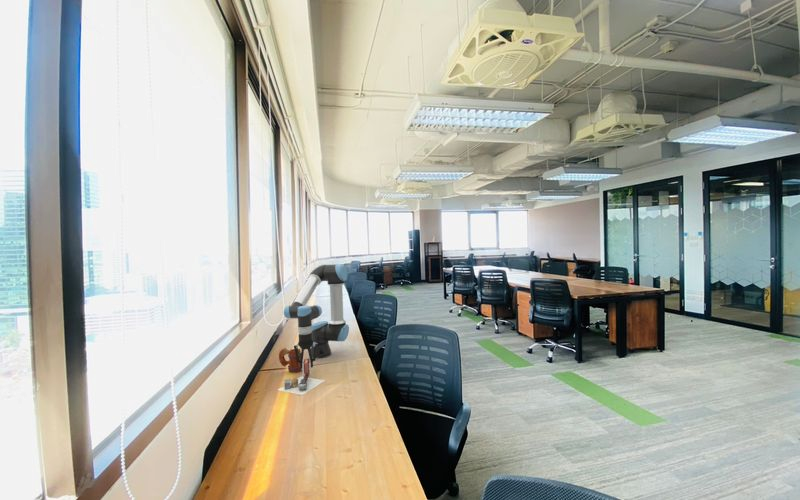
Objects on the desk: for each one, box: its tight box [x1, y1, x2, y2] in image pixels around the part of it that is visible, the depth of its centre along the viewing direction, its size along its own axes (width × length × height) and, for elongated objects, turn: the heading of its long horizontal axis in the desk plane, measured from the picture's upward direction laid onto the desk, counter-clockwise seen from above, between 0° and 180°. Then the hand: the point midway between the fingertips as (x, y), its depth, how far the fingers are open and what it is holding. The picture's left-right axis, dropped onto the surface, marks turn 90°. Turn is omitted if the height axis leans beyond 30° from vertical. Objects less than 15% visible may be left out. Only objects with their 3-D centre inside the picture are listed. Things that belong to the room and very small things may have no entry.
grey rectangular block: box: [283, 378, 292, 390], centre depth 176 cm, size 5×3×4 cm, turn 17°
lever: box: [299, 358, 311, 390], centre depth 179 cm, size 18×4×10 cm, turn 7°
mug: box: [278, 347, 302, 374], centre depth 200 cm, size 15×8×15 cm, turn 84°
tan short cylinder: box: [291, 378, 298, 388], centre depth 177 cm, size 4×4×4 cm
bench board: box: [277, 375, 326, 396], centre depth 179 cm, size 19×17×2 cm
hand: (307, 373), depth 187 cm, fingers open, 3 cm apart
